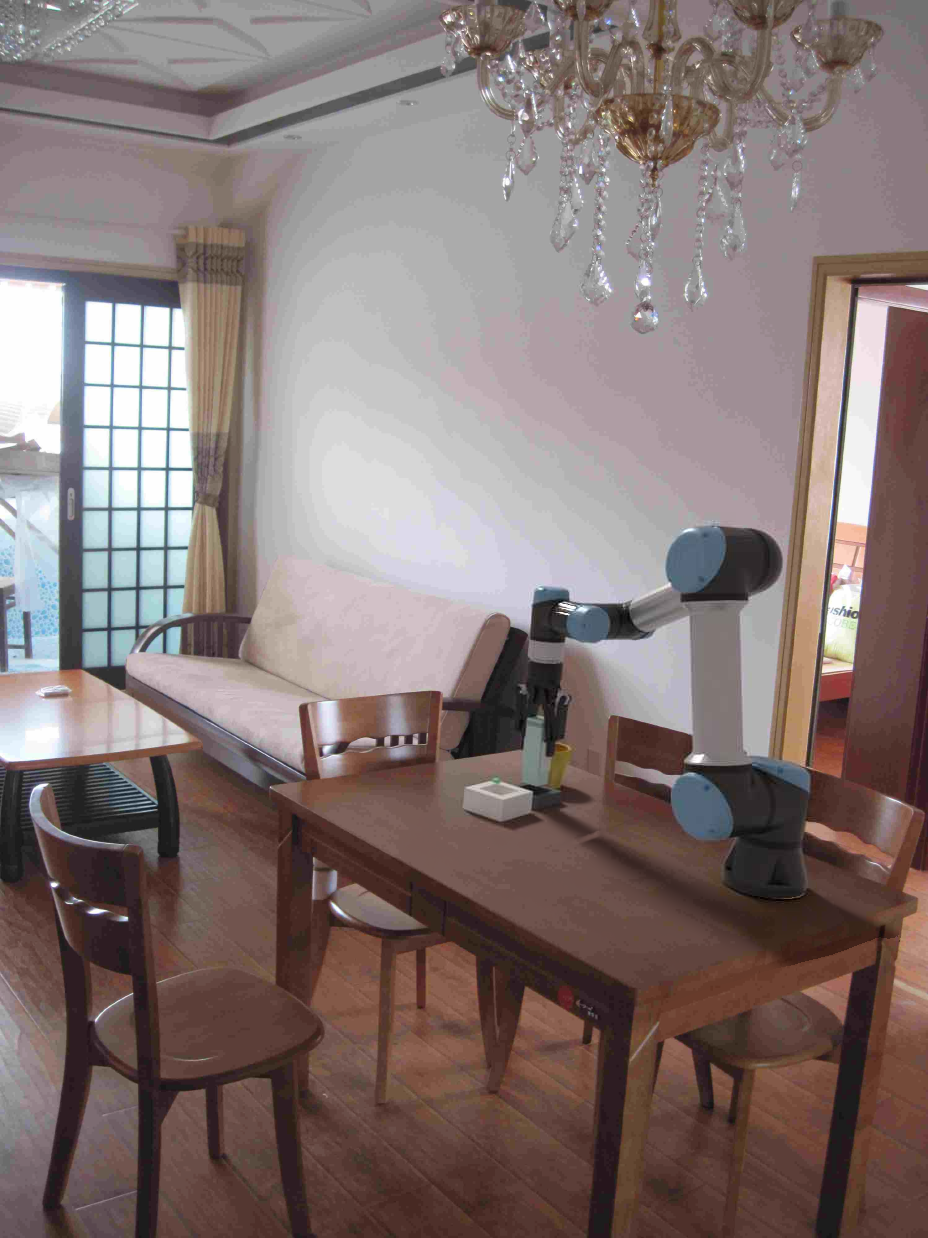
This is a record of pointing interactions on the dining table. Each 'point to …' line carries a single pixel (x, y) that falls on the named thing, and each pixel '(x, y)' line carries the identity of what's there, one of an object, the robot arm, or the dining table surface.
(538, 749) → the plug
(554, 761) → the plant pot
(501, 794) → the box
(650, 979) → the dining table surface
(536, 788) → the dark grey square tray
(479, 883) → the dining table surface
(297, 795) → the dining table surface
